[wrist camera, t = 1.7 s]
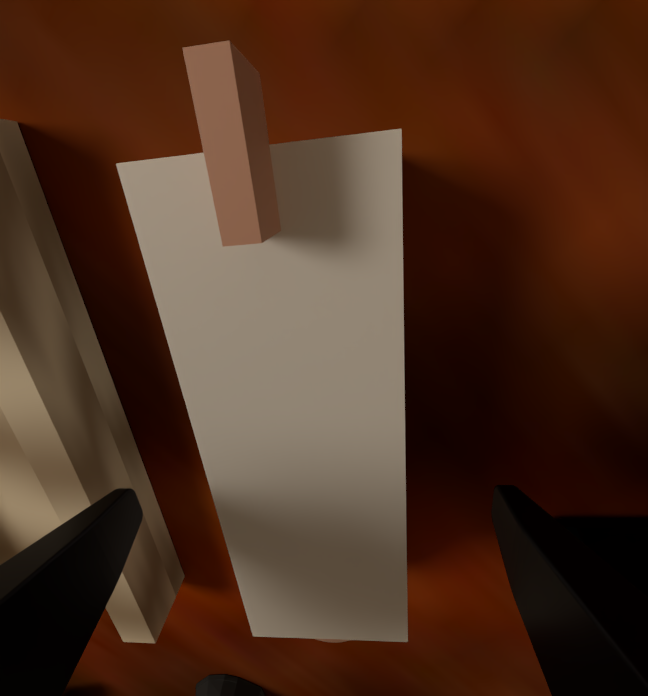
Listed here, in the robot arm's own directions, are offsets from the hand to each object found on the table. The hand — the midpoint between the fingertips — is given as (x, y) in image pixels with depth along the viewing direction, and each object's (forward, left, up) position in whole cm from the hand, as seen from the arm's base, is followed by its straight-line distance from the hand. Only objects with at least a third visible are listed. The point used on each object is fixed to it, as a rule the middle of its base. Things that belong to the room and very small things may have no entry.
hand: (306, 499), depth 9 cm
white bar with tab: (0, -1, -5) cm, 5 cm away
